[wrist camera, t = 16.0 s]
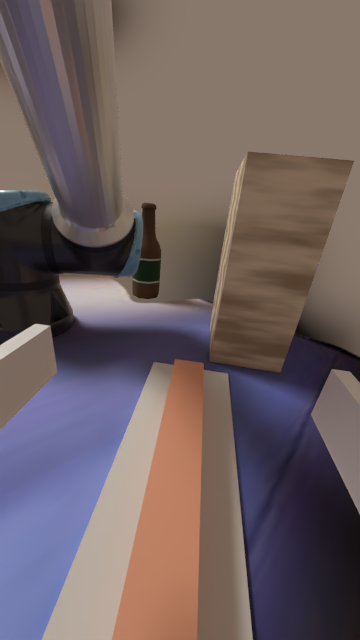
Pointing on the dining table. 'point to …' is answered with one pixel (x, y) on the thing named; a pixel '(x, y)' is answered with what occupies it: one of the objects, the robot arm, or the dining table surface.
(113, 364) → the dining table surface
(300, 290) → the stand
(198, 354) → the dining table surface
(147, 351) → the dining table surface
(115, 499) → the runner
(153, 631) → the pink long bar
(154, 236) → the beer bottle
